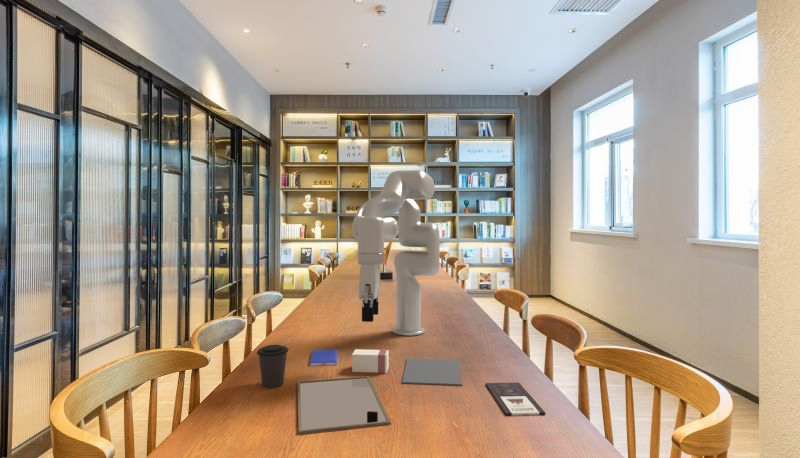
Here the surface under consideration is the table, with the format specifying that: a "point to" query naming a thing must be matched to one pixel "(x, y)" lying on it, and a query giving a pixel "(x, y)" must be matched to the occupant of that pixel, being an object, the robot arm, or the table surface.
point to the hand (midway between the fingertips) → (370, 317)
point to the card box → (370, 361)
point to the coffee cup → (272, 365)
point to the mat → (432, 372)
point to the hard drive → (324, 357)
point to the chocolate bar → (514, 399)
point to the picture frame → (339, 405)
